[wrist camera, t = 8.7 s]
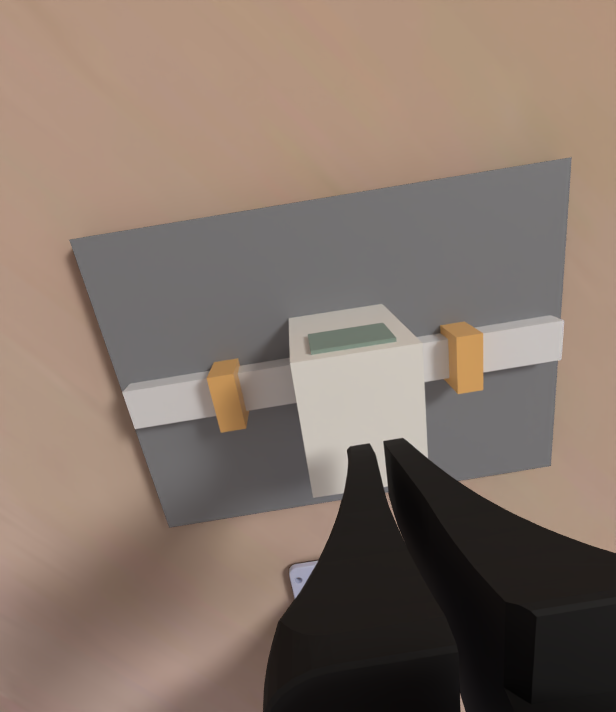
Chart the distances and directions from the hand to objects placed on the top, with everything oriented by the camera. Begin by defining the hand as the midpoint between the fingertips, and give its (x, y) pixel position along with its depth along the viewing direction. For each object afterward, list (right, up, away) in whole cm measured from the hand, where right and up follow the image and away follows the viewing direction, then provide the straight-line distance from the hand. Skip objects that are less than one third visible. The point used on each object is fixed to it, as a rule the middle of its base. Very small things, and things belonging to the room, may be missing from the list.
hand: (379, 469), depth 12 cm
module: (0, +3, +8) cm, 8 cm away
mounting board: (-1, +3, +9) cm, 9 cm away
